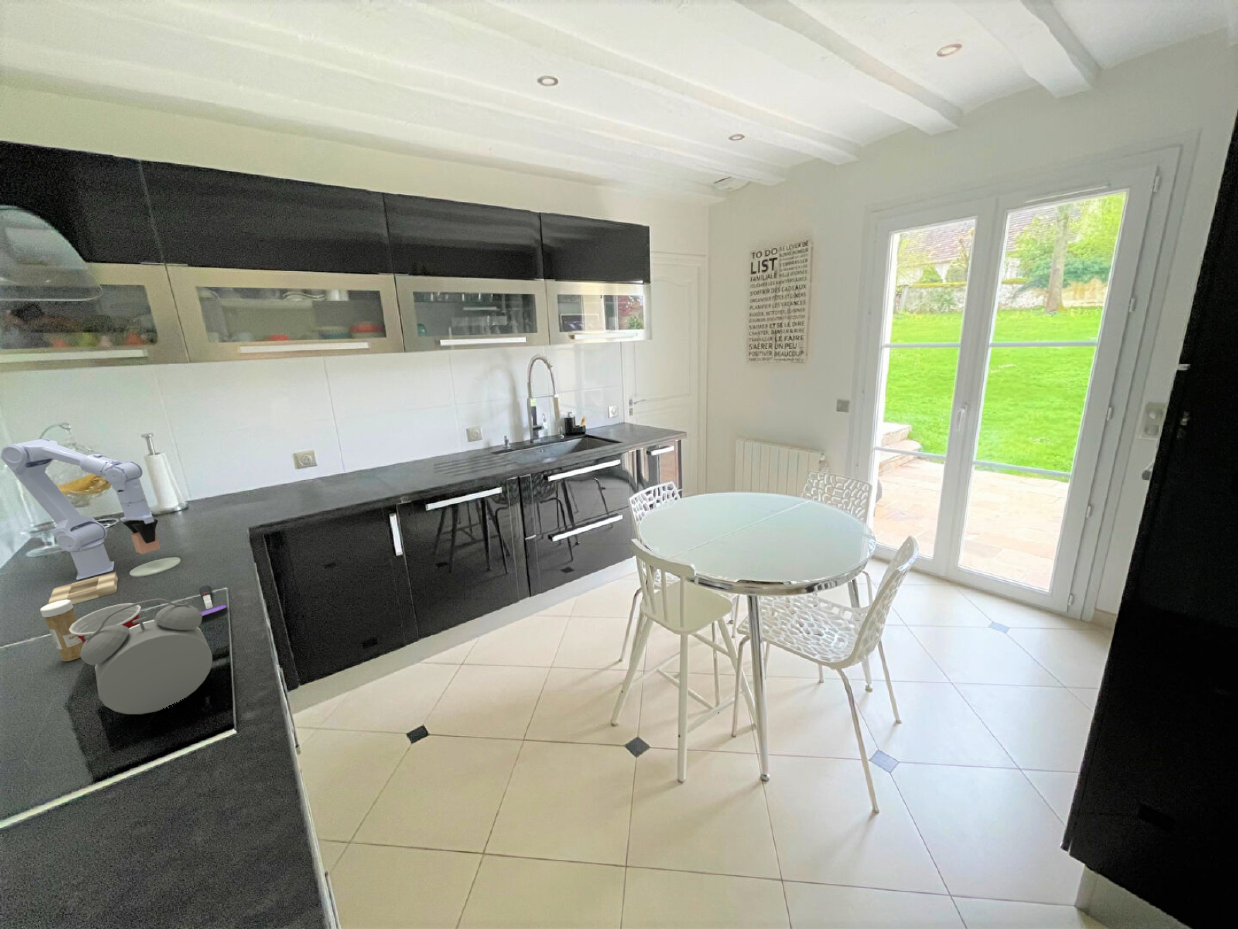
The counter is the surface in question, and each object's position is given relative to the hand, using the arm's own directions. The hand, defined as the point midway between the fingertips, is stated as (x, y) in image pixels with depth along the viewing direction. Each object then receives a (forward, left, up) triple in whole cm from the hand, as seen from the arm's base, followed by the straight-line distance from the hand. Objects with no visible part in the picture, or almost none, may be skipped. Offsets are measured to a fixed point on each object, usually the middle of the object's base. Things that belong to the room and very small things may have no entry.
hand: (147, 541), depth 150 cm
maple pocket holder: (+7, -15, -9) cm, 19 cm away
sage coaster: (0, 0, -9) cm, 9 cm away
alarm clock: (+88, +1, -10) cm, 88 cm away
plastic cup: (+63, -6, -10) cm, 64 cm away
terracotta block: (0, 0, -3) cm, 3 cm away
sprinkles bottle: (+50, -14, -10) cm, 53 cm away
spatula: (+44, +10, -10) cm, 46 cm away
